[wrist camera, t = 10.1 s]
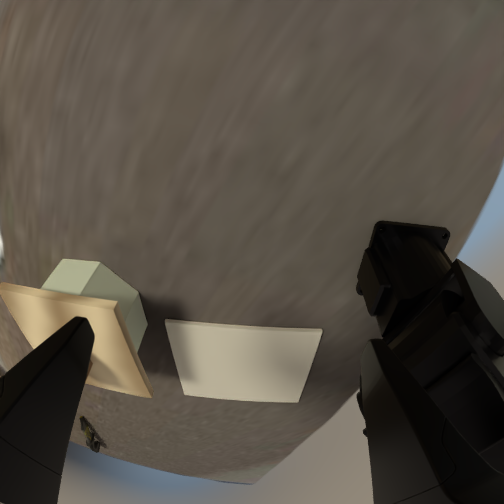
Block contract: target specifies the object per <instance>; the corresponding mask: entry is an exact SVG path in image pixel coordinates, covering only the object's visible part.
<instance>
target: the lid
mask: <svg viewBox="0 0 504 504" xmlns="http://www.w3.org/2000/svg"><path fill="white" fill-rule="evenodd" d="M0 294H1V296H2V298H3V300H4V302H5V304H6V305H7V307H8V309H9V311H10V312H11V314H12V316H13V317H14V319H15V321H16V322H17V324H18V326H19V327H20V329H21V330H22V332H23V334H24V335H25V337H26V338H27V340H28V341H29V343H30V344H31V346H32V347H33V349H35V348H36V347H37V346H39V345H40V344H41V343H42V342H44V341H45V340H46V339H47V338H48V337H50V336H51V335H52V334H53V333H55V332H56V331H57V330H58V329H60V328H61V327H62V326H63V325H65V324H66V323H67V322H68V321H70V320H71V319H72V318H74V317H75V316H81V317H86V318H87V319H88V321H89V323H90V325H91V327H92V329H93V331H94V334H95V341H94V345H93V350H92V354H91V359H90V363H89V368H88V373H87V377H86V381H85V383H86V384H90V385H94V386H98V387H101V388H106V389H110V390H114V391H118V392H123V393H127V394H132V395H137V396H142V397H147V398H152V396H153V392H154V391H153V388H152V386H151V384H150V382H149V380H148V377H147V375H146V373H145V371H144V368H143V366H142V364H141V361H140V359H139V357H138V354H137V352H136V349H135V347H134V344H133V342H132V339H131V337H130V334H129V331H128V329H127V326H126V323H125V321H124V318H123V315H122V312H121V309H120V307H119V304H118V301H112V300H105V299H98V298H91V297H84V296H77V295H71V294H65V293H59V292H53V291H47V290H41V289H36V288H30V287H25V286H20V285H14V284H9V283H5V282H2V283H1V284H0ZM84 385H85V384H84Z"/></svg>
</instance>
